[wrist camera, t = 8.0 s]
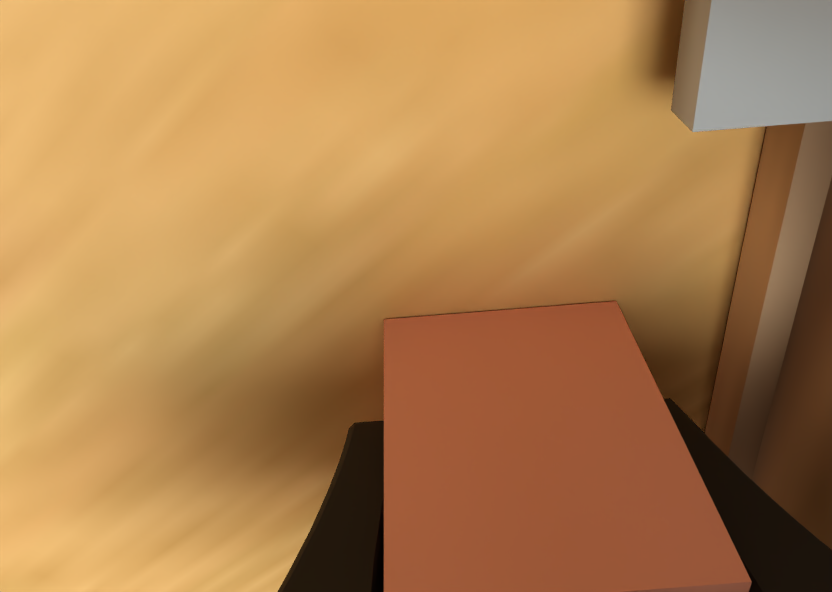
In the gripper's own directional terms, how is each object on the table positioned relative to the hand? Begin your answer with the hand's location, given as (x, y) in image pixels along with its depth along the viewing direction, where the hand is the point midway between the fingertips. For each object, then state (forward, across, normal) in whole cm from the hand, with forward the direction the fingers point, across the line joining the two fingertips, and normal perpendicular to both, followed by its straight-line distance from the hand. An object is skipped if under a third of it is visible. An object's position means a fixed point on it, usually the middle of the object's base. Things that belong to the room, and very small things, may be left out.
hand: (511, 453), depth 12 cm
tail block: (+1, 0, 0) cm, 1 cm away
